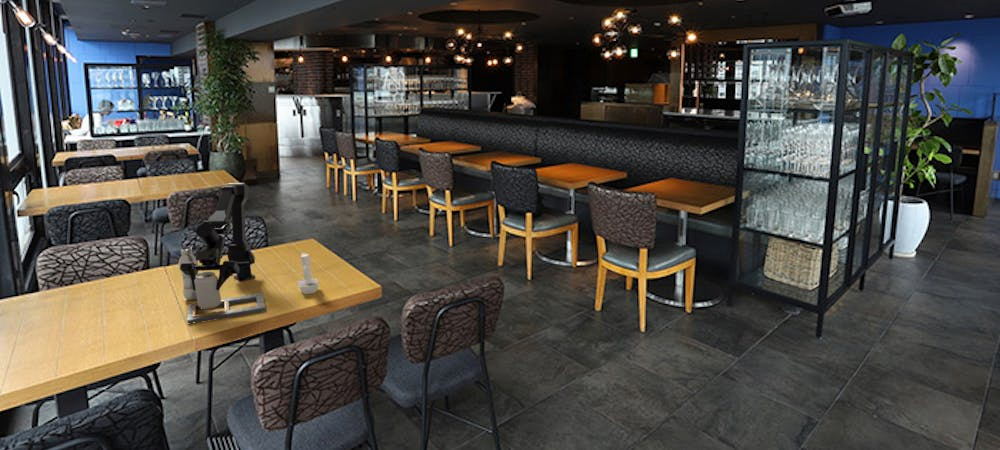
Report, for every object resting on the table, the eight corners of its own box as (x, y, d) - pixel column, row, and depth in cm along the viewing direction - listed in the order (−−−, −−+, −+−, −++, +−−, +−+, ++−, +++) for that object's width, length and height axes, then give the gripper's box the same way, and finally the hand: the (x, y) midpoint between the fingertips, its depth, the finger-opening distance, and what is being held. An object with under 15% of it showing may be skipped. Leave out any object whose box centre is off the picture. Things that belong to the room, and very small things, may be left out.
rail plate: (262, 296, 227) (262, 292, 227) (265, 311, 214) (265, 306, 214) (189, 308, 217) (188, 303, 217) (187, 324, 204) (187, 319, 204)
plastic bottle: (207, 296, 228) (200, 246, 223) (193, 303, 222) (185, 251, 217) (194, 294, 230) (186, 244, 225) (180, 300, 224) (171, 250, 219)
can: (210, 311, 209) (205, 279, 205) (193, 308, 211) (188, 276, 208) (226, 303, 215) (221, 271, 212) (209, 300, 218) (205, 269, 214)
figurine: (300, 297, 227) (296, 259, 223) (297, 289, 235) (293, 252, 231) (320, 294, 230) (316, 257, 225) (316, 286, 238) (313, 250, 234)
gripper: (177, 240, 210) (168, 281, 202) (232, 239, 211) (225, 280, 204) (190, 254, 220) (182, 294, 212) (242, 253, 221) (236, 292, 213)
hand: (205, 290), depth 210 cm, fingers closed on can, 7 cm apart
